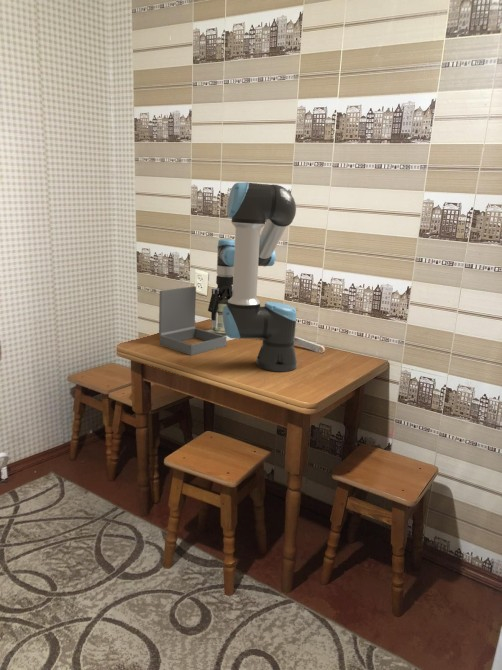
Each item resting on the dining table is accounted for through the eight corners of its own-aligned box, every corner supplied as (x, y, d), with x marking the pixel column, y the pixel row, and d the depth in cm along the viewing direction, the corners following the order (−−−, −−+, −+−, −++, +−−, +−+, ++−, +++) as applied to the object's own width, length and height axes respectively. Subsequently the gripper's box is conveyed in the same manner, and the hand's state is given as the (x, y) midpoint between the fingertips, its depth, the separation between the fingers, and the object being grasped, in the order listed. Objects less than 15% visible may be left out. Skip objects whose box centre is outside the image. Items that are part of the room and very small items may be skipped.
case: (226, 346, 218) (228, 293, 213) (191, 355, 203) (193, 299, 198) (193, 336, 230) (194, 286, 224) (157, 344, 215) (158, 290, 209)
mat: (247, 335, 237) (247, 334, 236) (223, 341, 224) (223, 340, 224) (221, 328, 246) (221, 327, 246) (196, 333, 234) (196, 332, 234)
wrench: (321, 360, 218) (260, 338, 232) (323, 359, 219) (262, 337, 234) (325, 342, 215) (263, 320, 230) (327, 341, 217) (265, 320, 231)
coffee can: (231, 327, 241) (233, 297, 237) (235, 333, 231) (237, 301, 228) (209, 327, 239) (210, 296, 235) (212, 333, 229) (213, 301, 225)
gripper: (235, 272, 239) (233, 320, 245) (200, 276, 222) (198, 327, 228) (248, 274, 235) (245, 323, 241) (213, 278, 218) (211, 331, 223)
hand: (222, 325), depth 234 cm, fingers closed on coffee can, 10 cm apart
